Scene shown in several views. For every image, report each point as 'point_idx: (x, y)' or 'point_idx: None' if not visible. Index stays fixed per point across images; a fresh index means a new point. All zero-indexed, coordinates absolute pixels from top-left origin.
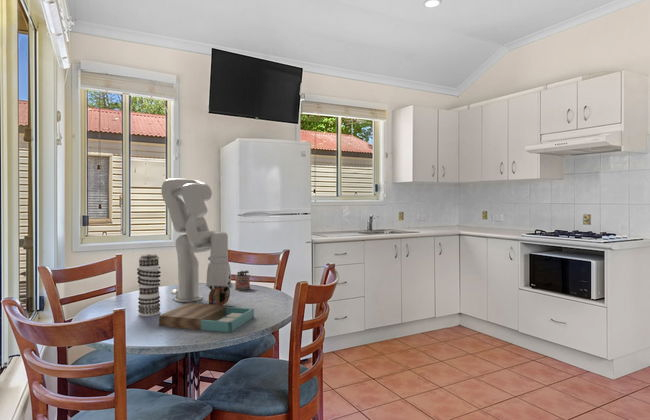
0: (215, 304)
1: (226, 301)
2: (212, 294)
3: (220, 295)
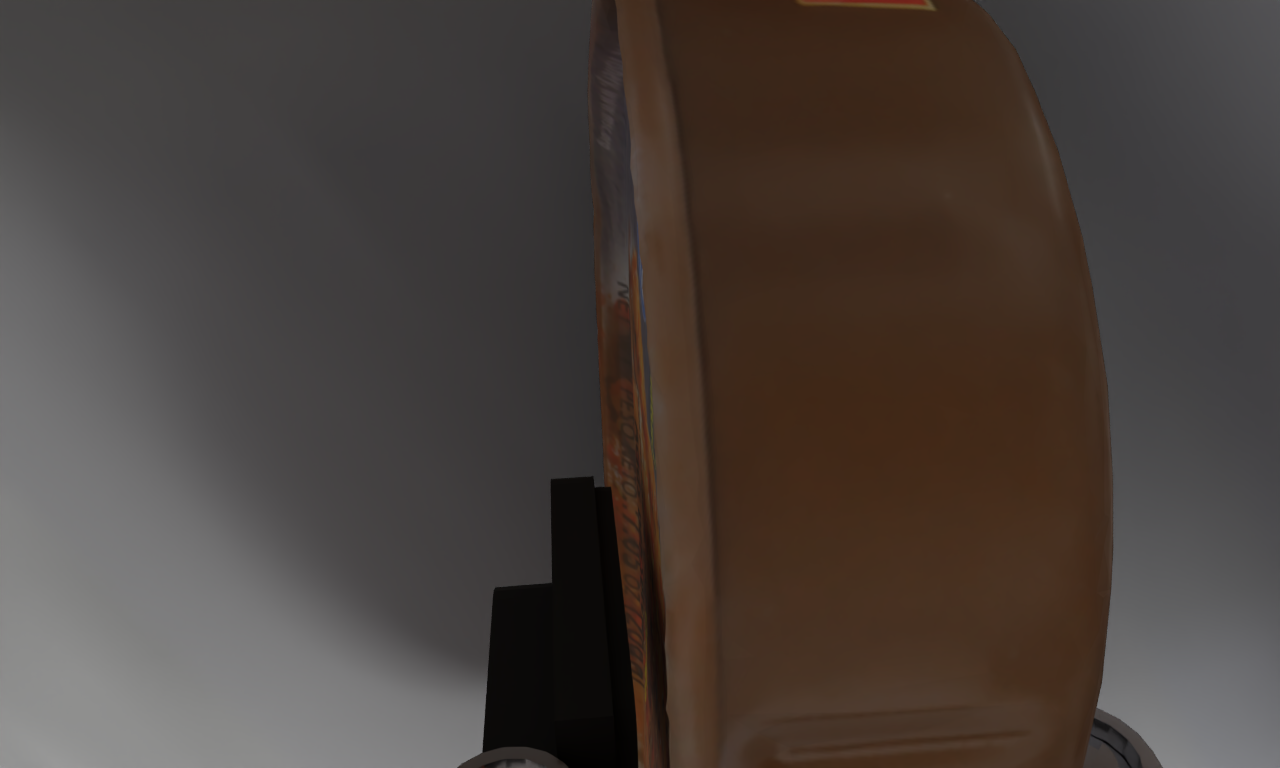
0: (628, 178)
1: None
2: (758, 96)
3: (612, 641)
